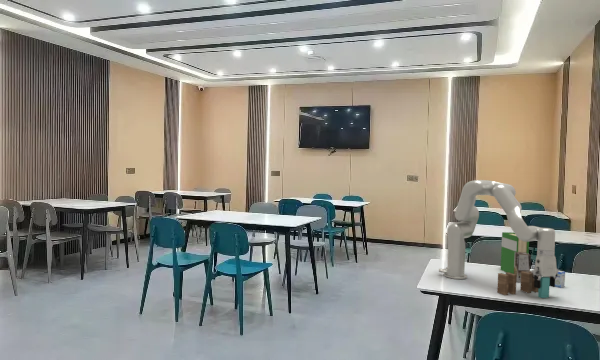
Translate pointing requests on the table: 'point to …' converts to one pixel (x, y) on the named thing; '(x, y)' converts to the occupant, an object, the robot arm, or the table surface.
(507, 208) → the robot arm
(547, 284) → the gap domino
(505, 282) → the domino
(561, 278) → the medicine box
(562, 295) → the table surface
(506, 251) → the hardback book
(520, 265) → the coffee box
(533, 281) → the domino
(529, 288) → the domino
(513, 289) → the domino
